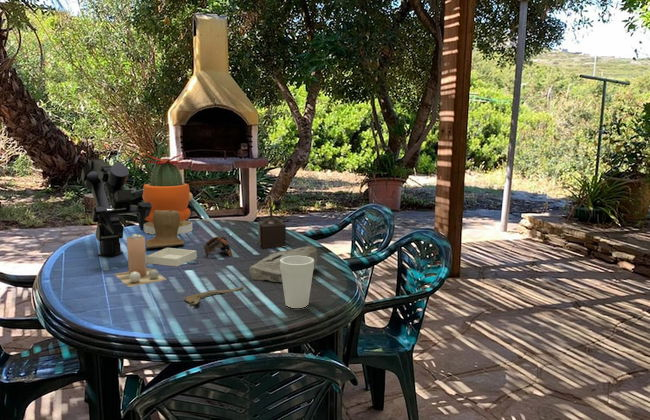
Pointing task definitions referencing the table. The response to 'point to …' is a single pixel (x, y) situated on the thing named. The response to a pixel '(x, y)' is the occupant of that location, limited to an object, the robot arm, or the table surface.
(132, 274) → the white pebble
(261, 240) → the brown potted sapling
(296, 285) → the foam cup
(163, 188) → the potted cactus
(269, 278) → the stone
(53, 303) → the table surface
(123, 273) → the beech board
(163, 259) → the cream dish
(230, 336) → the table surface
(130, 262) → the terracotta jar
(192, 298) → the jawbone
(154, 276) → the grey pebble
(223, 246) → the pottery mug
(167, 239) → the brown flared stand
